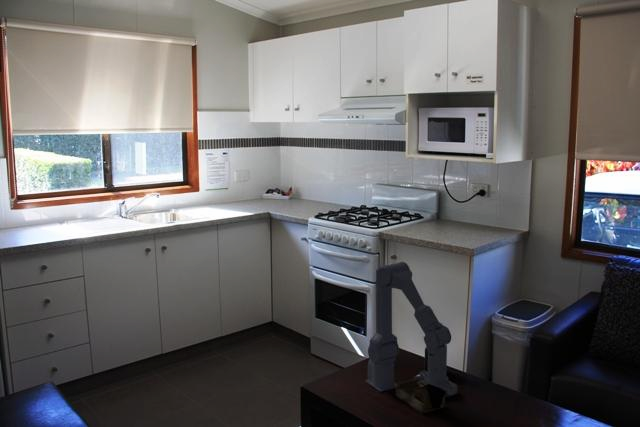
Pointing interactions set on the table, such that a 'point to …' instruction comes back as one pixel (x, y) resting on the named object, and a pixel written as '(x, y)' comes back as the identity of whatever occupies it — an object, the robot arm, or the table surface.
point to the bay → (413, 395)
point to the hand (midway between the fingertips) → (436, 407)
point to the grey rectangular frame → (424, 382)
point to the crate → (423, 397)
